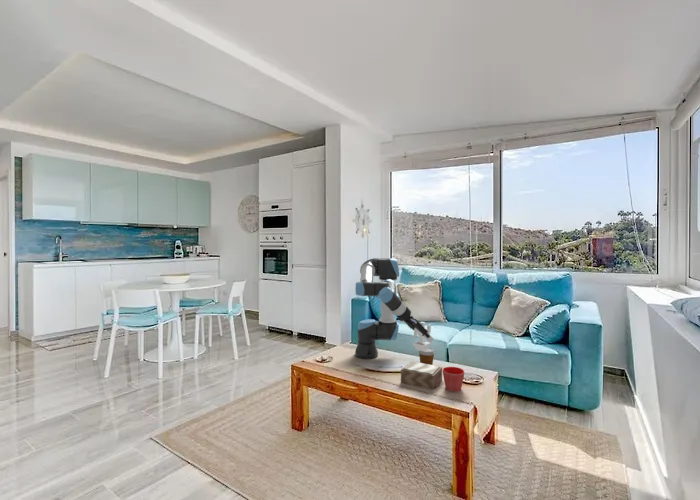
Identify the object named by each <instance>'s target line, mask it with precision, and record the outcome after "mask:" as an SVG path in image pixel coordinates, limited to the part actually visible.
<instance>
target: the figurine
mask: <svg viewBox="0 0 700 500" xmlns="http://www.w3.org/2000/svg"><path fill="white" fill-rule="evenodd" d="M419 323H420V324H421V325H422V326H423V327H424V328H425V329H426V330H427V331H428V334H429V335H431V332H432V331H431V330H432V327H431V326H432V324H431V323H430V324H427V326H426V322H425V321H420V322H419ZM425 326H426V327H425ZM417 333H420V337H419V340H416V341H414V342H412V344H413V346H414V348H415V350H416V351H419V350H420V351H425V350H427V349H428V348H430V345H431V344H432V342H431V343H430V342H429V341H425V339H426V338H425V337H424V336H422V335H423V334H422V333H421V332H420V331H419V330H417V329H416V328H414V330H413V337H414V338H417V337H418V335H417Z"/></svg>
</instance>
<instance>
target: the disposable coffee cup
mask: <svg viewBox="0 0 700 500" xmlns="http://www.w3.org/2000/svg"><path fill="white" fill-rule="evenodd" d="M417 351H418V354H419V355H418V356H419V363H424V364H429V365H434V363H433V362H434V356H435V353H436V352H435V349H434V348H432V347H428V349H427V350H425V351H420V350H417Z"/></svg>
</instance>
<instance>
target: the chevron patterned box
mask: <svg viewBox="0 0 700 500" xmlns="http://www.w3.org/2000/svg"><path fill="white" fill-rule="evenodd" d="M442 381H443V367H442V366H440V365H434V364H433V365H429V364H424V363H420V362H417V361H410V362H409V363H407V364H406V365H405V366H404V367H402V368H401V369H400V383H403V384H407V385H412V386H415V387H416V386H417V387H421V388H426V389H430V390H435V389H436V387H437V386H438V385H439V384H440V383H441V382H442Z"/></svg>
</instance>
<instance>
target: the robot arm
mask: <svg viewBox="0 0 700 500" xmlns="http://www.w3.org/2000/svg"><path fill="white" fill-rule="evenodd" d="M359 272H360V279H359V280H360V281H357V282H355V295H356V296H358V297H359V296H361V297H378V298H379V300H380V303H381V304H380V306H381V307H380V310H381V313H380V317H379V319H378V322H377V321H376V320H375V319H372V318H367V319H363V320H360V321H359V322H358V324H357V345H356V347H355V351H354V356H355V357H356V358H359V359H362V360H363V359H364V360H365V359H366V360H367V359H369V360H370V359H375V358H377V357H378V355H379V354H378V353H379V352H378V349H377V344H376V341H396V340H397V339H398V335H399V327H400V323H399V322H398V321H397V319H398V320H399V321H401V322H404V323H405V324H406V325H407V326H408V328H410V330H412V331H414V328H416V329H417V330H419V331H420V332H421V333H422V334H423V335H422V336H424V337H425V339H426V340H427V342H430V343H431V344H432V342H433V341H434V338H433V337H432V335H431V334H428V331H427V330H426V329H427V328H426V327H425V328H424V327H423V326H422V325H421V324H420V322H419V321H418V320H417V318H414V316H413V315H411V314H412V311H411V309H409V307H408V306H407V305H406V304H405V303H404V302H403V300H401V299H400V297H399V296H397V286H396V281H397V280H398V277H400V268H399V262H398V259H396V258H391V257H390V258H389V257H388V258H386V257H384V258H379V257H378V258H377V257H375V258H374V257H373V258H369V259H367V260H366V261H364V262H363V263H362V264H361V265H360V269H359ZM374 277H378V280H379V281H376V282H375V281H374ZM395 316H396V318H395ZM417 337H419V338H420V333H417Z"/></svg>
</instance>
